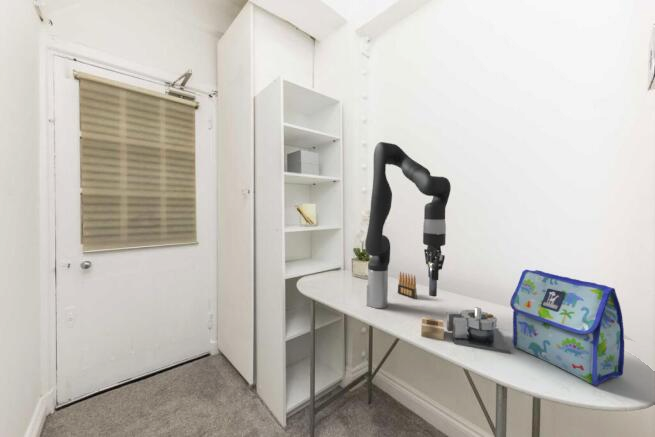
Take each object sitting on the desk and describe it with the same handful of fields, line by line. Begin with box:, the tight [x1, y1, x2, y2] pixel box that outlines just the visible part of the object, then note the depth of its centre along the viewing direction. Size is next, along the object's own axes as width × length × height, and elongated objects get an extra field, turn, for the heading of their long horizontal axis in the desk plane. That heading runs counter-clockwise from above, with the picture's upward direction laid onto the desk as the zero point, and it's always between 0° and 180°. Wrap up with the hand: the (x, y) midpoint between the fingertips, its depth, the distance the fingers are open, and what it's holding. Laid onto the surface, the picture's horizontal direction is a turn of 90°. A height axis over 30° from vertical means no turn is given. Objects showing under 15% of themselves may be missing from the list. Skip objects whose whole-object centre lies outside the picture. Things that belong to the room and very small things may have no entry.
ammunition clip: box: [397, 271, 418, 300], centre depth 134 cm, size 11×2×12 cm, turn 35°
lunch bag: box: [509, 269, 625, 387], centre depth 77 cm, size 22×17×26 cm
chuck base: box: [451, 307, 511, 354], centre depth 92 cm, size 16×16×10 cm
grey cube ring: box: [446, 309, 498, 338], centre depth 92 cm, size 11×15×7 cm
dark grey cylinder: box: [428, 263, 438, 298], centre depth 94 cm, size 3×3×12 cm
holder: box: [420, 316, 445, 341], centre depth 95 cm, size 7×7×4 cm
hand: (433, 278), depth 94 cm, fingers closed on dark grey cylinder, 2 cm apart
